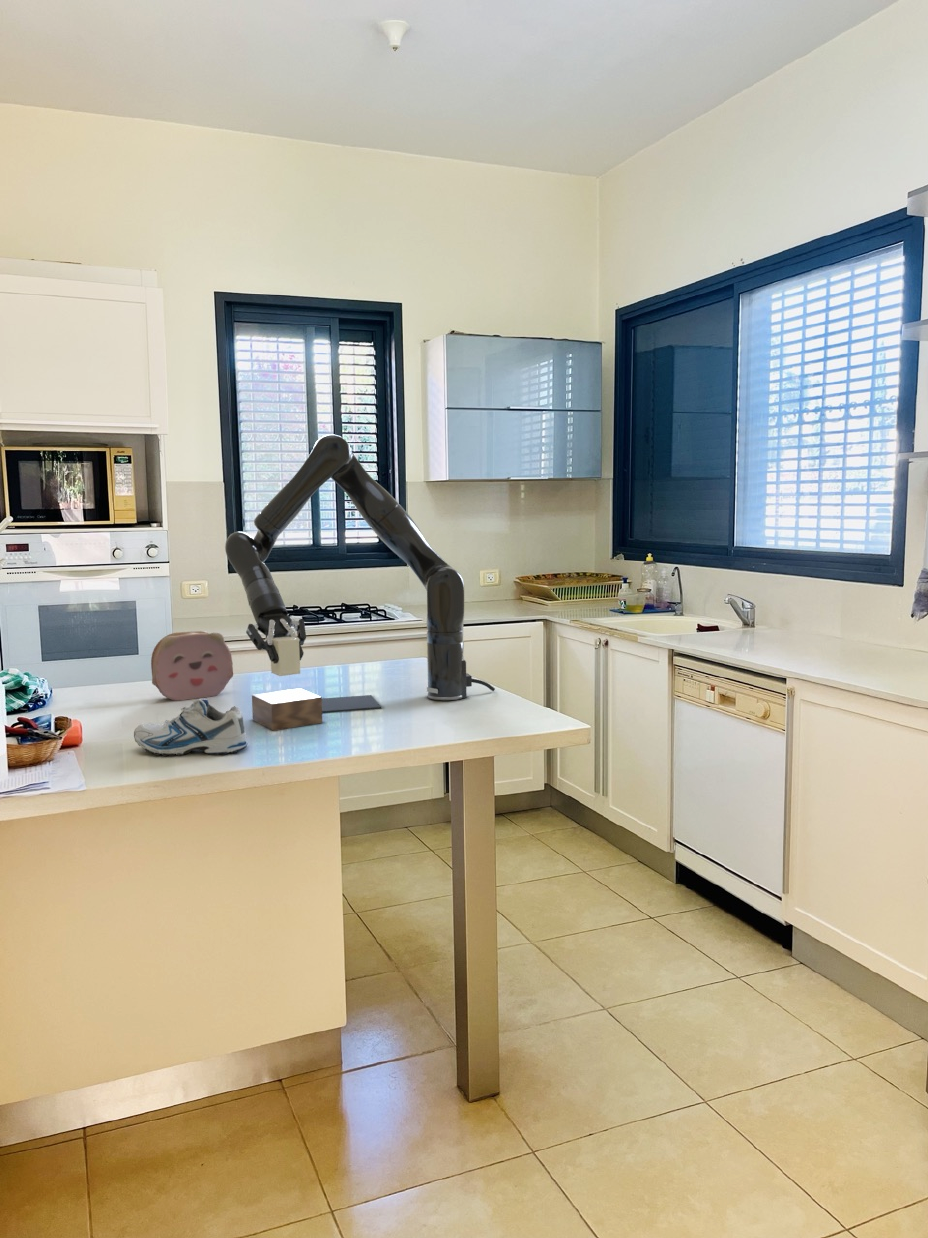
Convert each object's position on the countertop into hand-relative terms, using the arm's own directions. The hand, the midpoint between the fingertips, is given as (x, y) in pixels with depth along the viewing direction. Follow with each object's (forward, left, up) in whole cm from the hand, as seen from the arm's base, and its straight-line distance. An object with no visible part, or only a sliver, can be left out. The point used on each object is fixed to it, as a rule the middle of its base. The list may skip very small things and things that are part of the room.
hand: (288, 659), depth 210 cm
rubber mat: (-14, -15, -15) cm, 25 cm away
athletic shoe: (+22, +16, -15) cm, 31 cm away
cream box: (+1, -2, -3) cm, 4 cm away
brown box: (+1, -2, -15) cm, 15 cm away
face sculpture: (+22, -37, -15) cm, 45 cm away
